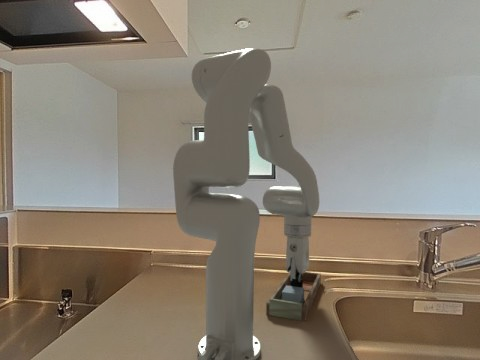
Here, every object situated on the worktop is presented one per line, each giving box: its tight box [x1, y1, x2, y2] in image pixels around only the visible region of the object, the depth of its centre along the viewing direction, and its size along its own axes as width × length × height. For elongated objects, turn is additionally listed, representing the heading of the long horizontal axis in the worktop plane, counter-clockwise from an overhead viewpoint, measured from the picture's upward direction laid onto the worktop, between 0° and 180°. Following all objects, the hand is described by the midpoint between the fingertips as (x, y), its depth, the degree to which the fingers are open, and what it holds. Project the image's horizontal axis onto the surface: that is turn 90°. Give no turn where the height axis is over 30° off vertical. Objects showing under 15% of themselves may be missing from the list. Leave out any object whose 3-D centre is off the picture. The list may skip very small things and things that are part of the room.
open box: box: [265, 271, 322, 322], centre depth 94 cm, size 28×10×4 cm, turn 158°
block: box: [281, 285, 305, 307], centre depth 89 cm, size 5×5×4 cm
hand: (296, 293), depth 93 cm, fingers closed
